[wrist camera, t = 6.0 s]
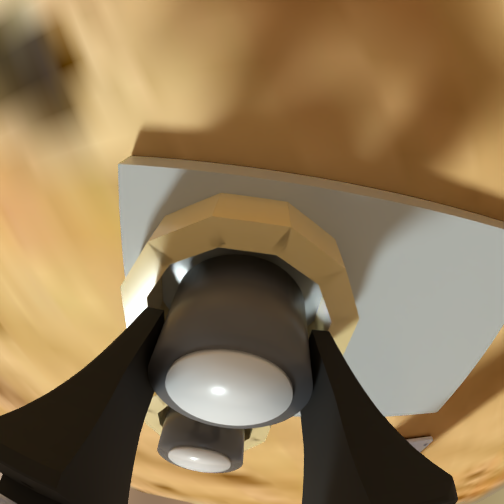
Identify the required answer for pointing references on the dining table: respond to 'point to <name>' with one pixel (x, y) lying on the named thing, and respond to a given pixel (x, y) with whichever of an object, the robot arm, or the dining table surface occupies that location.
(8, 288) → the dining table surface
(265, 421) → the cap
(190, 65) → the dining table surface
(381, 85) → the dining table surface
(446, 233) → the board
